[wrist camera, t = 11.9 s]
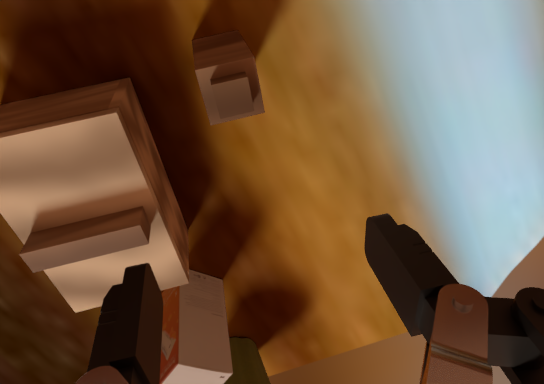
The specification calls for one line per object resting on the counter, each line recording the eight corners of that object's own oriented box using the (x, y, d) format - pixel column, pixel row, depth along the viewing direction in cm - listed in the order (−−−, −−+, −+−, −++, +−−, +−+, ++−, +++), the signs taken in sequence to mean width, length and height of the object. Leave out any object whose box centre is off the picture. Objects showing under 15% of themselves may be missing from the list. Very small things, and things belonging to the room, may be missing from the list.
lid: (-41, 141, 25) (-69, 167, 23) (118, 107, 26) (110, 127, 24) (77, 304, 36) (68, 335, 33) (188, 275, 37) (189, 303, 34)
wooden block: (192, 40, 31) (195, 75, 23) (237, 30, 32) (257, 61, 23) (204, 85, 34) (211, 132, 26) (247, 75, 34) (267, 119, 26)
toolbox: (0, 104, 31) (-39, 140, 26) (129, 77, 32) (119, 105, 27) (92, 254, 42) (78, 301, 36) (188, 230, 43) (189, 273, 37)
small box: (179, 264, 45) (178, 363, 35) (223, 278, 48) (235, 373, 38) (150, 306, 48) (141, 408, 38) (193, 317, 51) (196, 415, 41)
